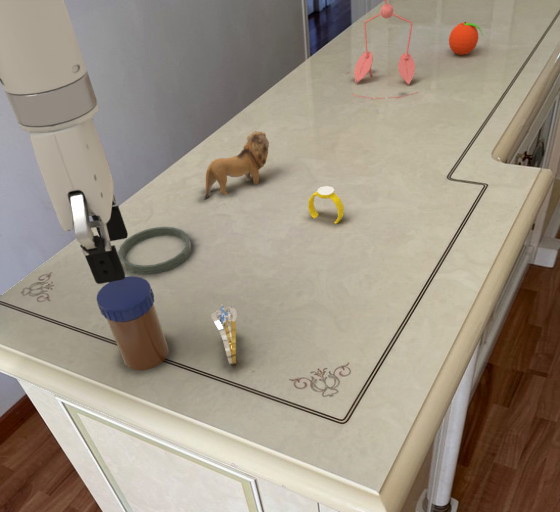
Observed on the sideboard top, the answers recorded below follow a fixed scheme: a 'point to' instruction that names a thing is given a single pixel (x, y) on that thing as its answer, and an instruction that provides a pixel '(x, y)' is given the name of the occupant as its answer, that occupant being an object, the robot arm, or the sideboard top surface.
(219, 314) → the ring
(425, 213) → the sideboard top surface
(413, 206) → the sideboard top surface
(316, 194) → the watch
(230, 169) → the lion figurine
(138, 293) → the lid
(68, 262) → the sideboard top surface
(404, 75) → the balance scale
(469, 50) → the clementine
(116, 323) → the jar
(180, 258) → the grey-green bangle
